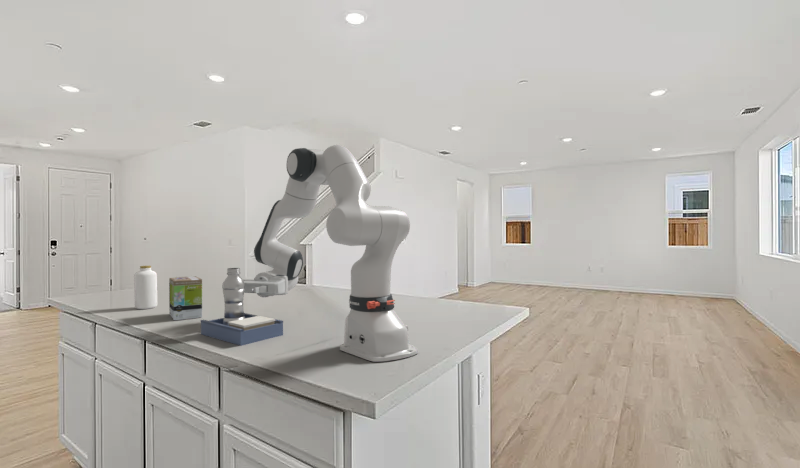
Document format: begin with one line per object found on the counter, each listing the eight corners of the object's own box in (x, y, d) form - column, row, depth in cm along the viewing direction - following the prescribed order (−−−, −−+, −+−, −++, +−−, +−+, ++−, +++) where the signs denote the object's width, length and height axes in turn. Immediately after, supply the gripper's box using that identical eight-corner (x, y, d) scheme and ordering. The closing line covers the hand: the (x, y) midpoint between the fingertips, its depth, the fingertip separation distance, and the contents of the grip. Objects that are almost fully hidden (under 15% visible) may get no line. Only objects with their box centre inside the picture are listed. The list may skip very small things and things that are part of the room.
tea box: (203, 317, 157) (202, 278, 156) (173, 321, 151) (172, 280, 151) (197, 311, 169) (196, 275, 169) (168, 314, 163) (168, 277, 163)
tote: (283, 337, 126) (283, 320, 126) (240, 348, 115) (240, 330, 115) (242, 327, 139) (242, 312, 139) (200, 336, 128) (200, 320, 128)
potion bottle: (152, 305, 184) (151, 264, 184) (161, 307, 179) (160, 265, 179) (131, 308, 177) (130, 266, 177) (140, 310, 172) (139, 267, 172)
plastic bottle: (244, 334, 128) (243, 268, 127) (220, 335, 126) (220, 269, 126) (247, 329, 134) (246, 267, 134) (224, 330, 132) (224, 267, 132)
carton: (275, 335, 125) (275, 319, 125) (244, 343, 117) (243, 325, 117) (259, 331, 130) (259, 315, 130) (228, 338, 122) (227, 321, 122)
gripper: (241, 274, 150) (214, 279, 136) (291, 276, 144) (268, 281, 131) (241, 292, 150) (214, 298, 136) (291, 294, 144) (268, 301, 131)
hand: (241, 290), depth 134 cm, fingers open, 8 cm apart
